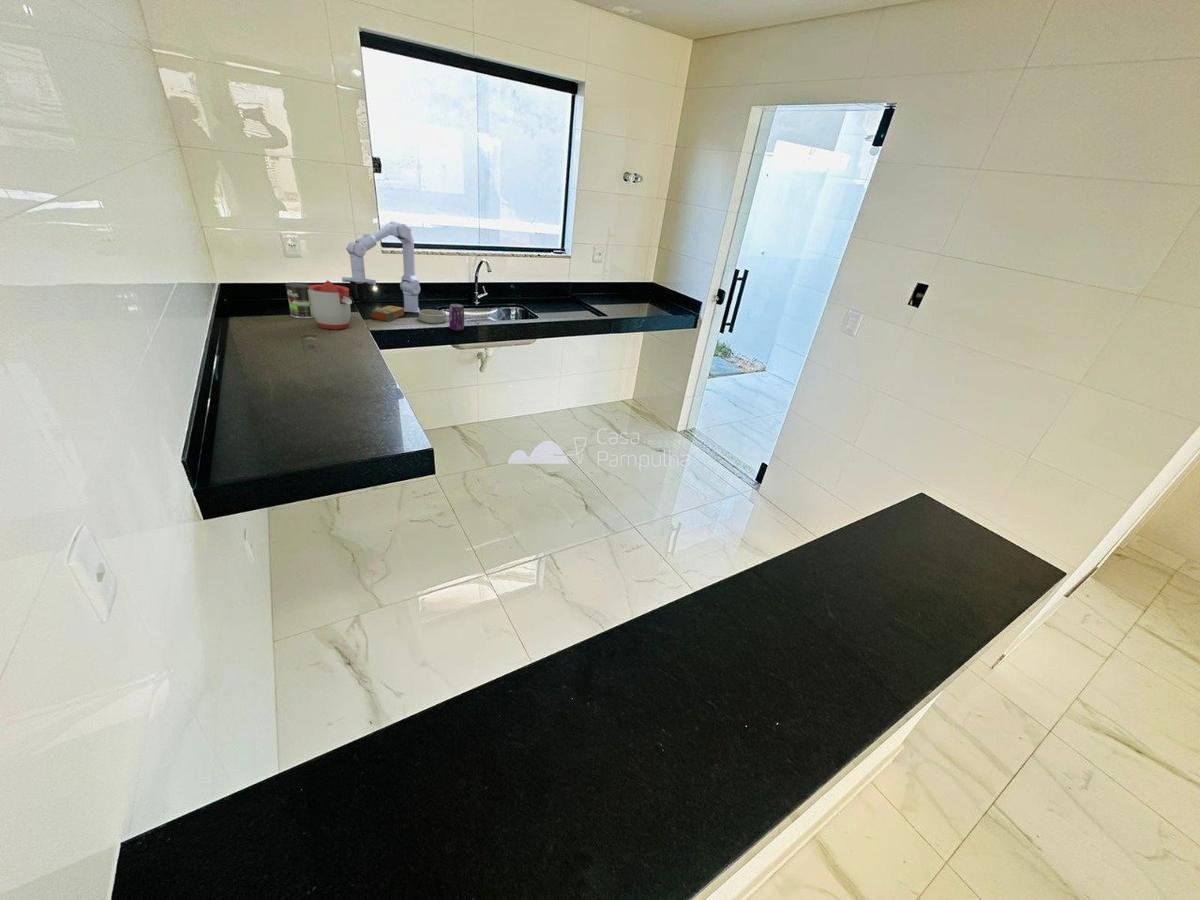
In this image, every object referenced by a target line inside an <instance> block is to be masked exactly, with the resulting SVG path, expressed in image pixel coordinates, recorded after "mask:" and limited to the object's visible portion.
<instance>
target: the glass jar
mask: <svg viewBox="0 0 1200 900" xmlns="http://www.w3.org/2000/svg"><path fill="white" fill-rule="evenodd" d="M310 285H311V284H310V283H307V282H287V283H285V288H286V294H287V299H288V306H289V312H290V317H292V318H295V319H313V318H314V319H315V317H314V314H313V311H312V305H311V299H310V292H309V288H308V287H309V286H310Z"/></svg>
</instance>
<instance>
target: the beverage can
mask: <svg viewBox="0 0 1200 900" xmlns="http://www.w3.org/2000/svg"><path fill="white" fill-rule="evenodd" d="M448 310H449V312H448V315H449V316H448V317H449V318H448V319H449V320H448V322H449V323H448V324H449V329H451V330H452V331H456V332H460V331H463V330H464V329H465V308H464V305H463V304H460V303H451V304H450V305H449V309H448Z"/></svg>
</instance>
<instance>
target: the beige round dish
mask: <svg viewBox="0 0 1200 900" xmlns="http://www.w3.org/2000/svg"><path fill="white" fill-rule="evenodd" d="M417 314H418V320H419V321H420V322H423V323H426V324H443V323H444V322H446V312H445V311H441V310H437V309H421V310H419V311H418V313H417Z"/></svg>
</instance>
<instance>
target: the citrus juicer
mask: <svg viewBox="0 0 1200 900" xmlns="http://www.w3.org/2000/svg"><path fill="white" fill-rule="evenodd" d="M308 288H309V292H310V299H311V305H312V311H313V314H314V320H315V322H316V324H317V325H318V326H319V327H320V328H321V329H322V328H323V329H327V330H333V331H334V330H335V331H337V330H343V329H347V328H348V327H349V325H350V321H351V315H352V313H351V312H352V311H351V305H352V303H353V301H352V299H351V298H350V289H349V288H348V287H346V286H343V285H337V284H334V283H332V282H331V281H330V280H326V281H325V282H324V283H322V284H321V283H320V284H319V283H317V284H310V286H309V287H308Z"/></svg>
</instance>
